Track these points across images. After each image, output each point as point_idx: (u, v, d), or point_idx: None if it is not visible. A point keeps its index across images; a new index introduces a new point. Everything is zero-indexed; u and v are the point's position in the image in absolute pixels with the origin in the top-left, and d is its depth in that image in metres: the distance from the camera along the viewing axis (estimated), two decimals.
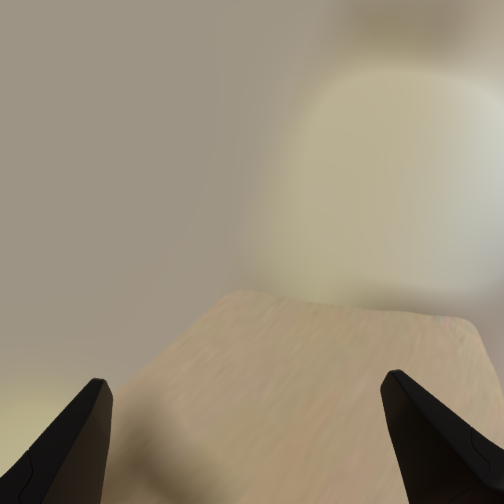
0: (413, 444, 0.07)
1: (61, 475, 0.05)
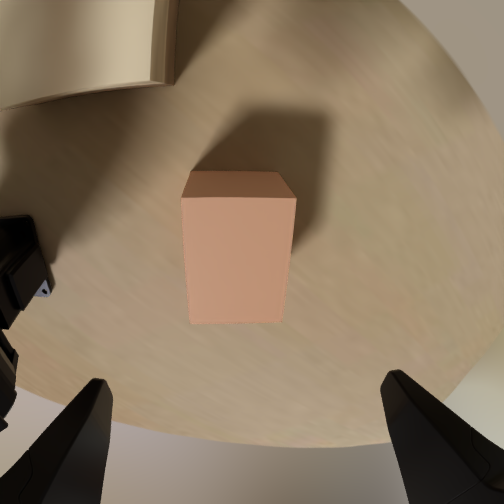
0: (413, 444, 0.07)
1: (61, 475, 0.05)
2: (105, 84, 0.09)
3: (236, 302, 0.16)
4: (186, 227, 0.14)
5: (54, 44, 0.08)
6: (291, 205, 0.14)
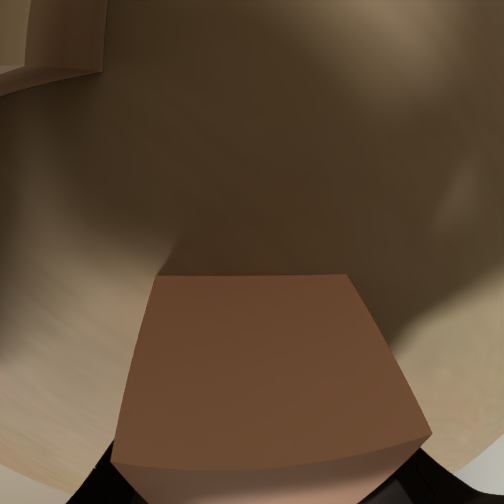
0: None
1: (134, 491, 0.05)
2: None
3: None
4: (144, 490, 0.04)
5: None
6: (414, 445, 0.04)
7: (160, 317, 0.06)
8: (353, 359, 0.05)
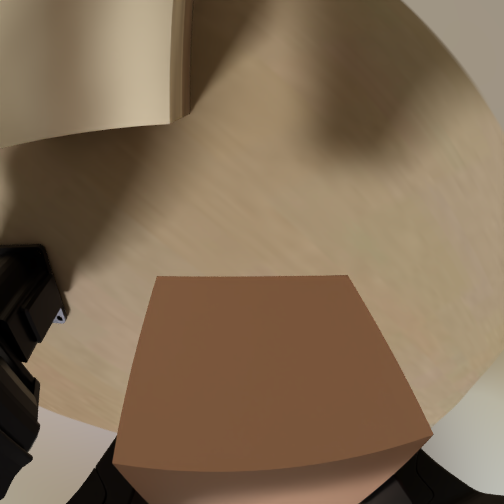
0: None
1: (135, 491, 0.05)
2: (120, 126, 0.09)
3: None
4: (145, 491, 0.04)
5: (59, 79, 0.08)
6: (415, 447, 0.04)
7: (161, 318, 0.06)
8: (354, 360, 0.05)
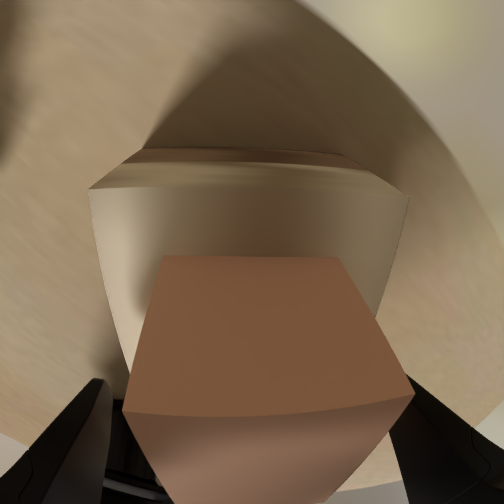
0: (413, 444, 0.07)
1: (61, 475, 0.05)
2: None
3: (256, 500, 0.07)
4: (149, 448, 0.05)
5: None
6: (399, 406, 0.05)
7: (168, 290, 0.07)
8: (342, 327, 0.06)
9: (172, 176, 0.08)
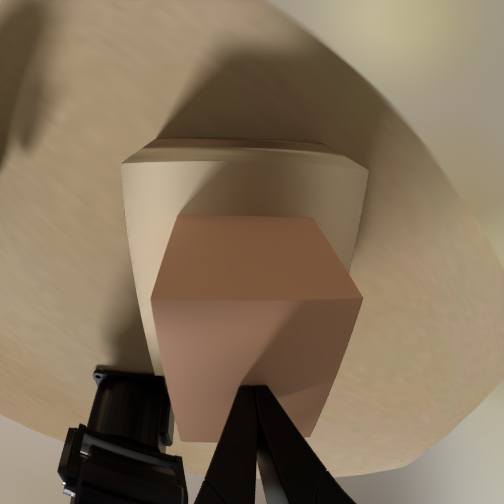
0: (266, 473, 0.06)
1: (246, 496, 0.05)
2: None
3: None
4: (164, 343, 0.07)
5: None
6: (352, 309, 0.07)
7: (182, 234, 0.10)
8: (309, 257, 0.09)
9: (185, 156, 0.11)
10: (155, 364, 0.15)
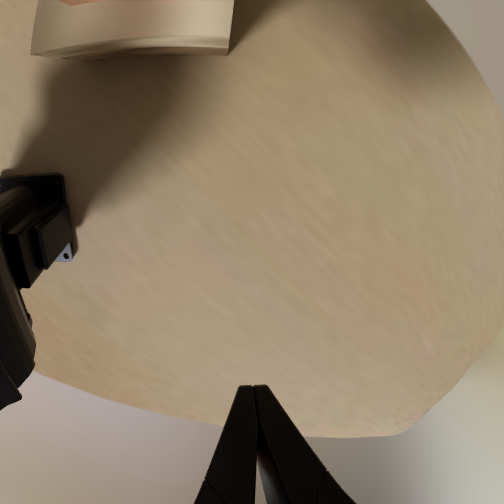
0: (266, 473, 0.06)
1: (247, 496, 0.05)
2: (184, 35, 0.10)
3: None
4: None
5: None
6: None
7: None
8: None
9: None
10: (35, 35, 0.08)
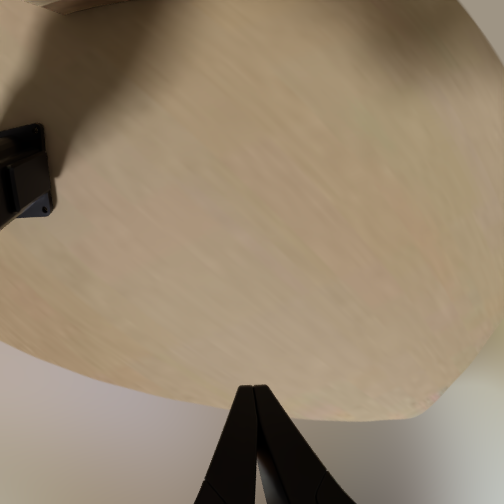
0: (265, 473, 0.06)
1: (247, 496, 0.05)
2: None
3: None
4: None
5: None
6: None
7: None
8: None
9: None
10: None
